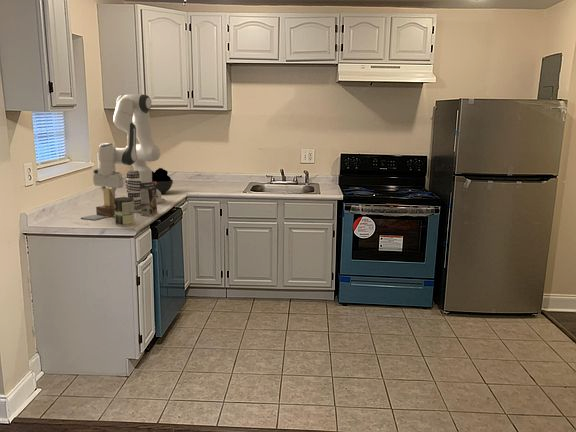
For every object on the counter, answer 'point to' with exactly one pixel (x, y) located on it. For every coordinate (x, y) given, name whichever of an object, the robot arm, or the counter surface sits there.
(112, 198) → the wooden square peg
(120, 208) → the coffee can
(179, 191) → the counter surface
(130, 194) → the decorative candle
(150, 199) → the coffee box
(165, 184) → the coal bowl
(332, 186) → the counter surface
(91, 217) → the rubber mat
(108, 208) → the socket block
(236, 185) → the counter surface
